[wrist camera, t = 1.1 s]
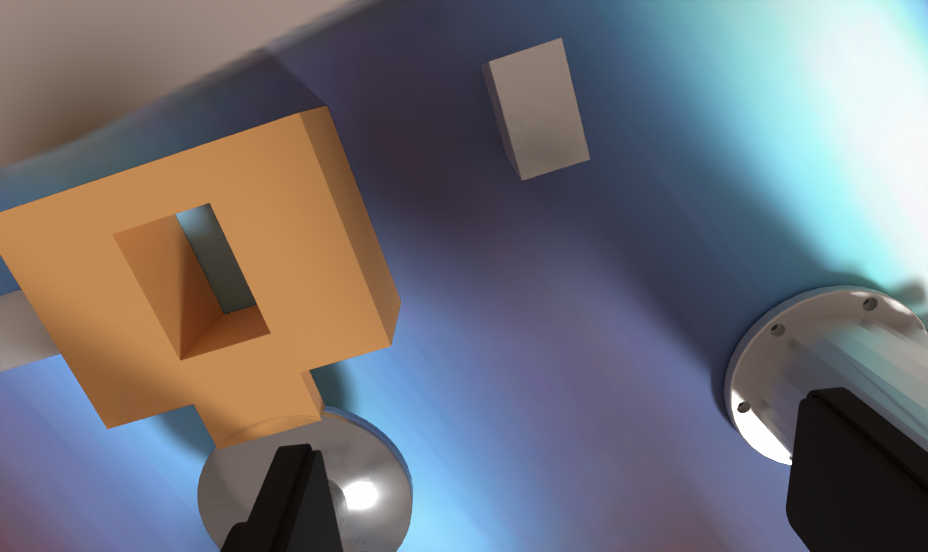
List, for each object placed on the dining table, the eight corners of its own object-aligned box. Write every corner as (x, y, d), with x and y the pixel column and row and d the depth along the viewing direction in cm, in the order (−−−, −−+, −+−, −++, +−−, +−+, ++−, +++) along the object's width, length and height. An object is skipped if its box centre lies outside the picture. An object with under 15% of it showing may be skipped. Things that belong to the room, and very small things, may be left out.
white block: (534, 47, 30) (561, 37, 23) (558, 139, 32) (590, 159, 24) (480, 65, 30) (488, 61, 23) (505, 155, 32) (522, 180, 25)
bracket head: (327, 105, 31) (298, 112, 25) (417, 344, 36) (410, 395, 30) (-32, 225, 33) (-134, 256, 27) (99, 437, 38) (37, 501, 32)
